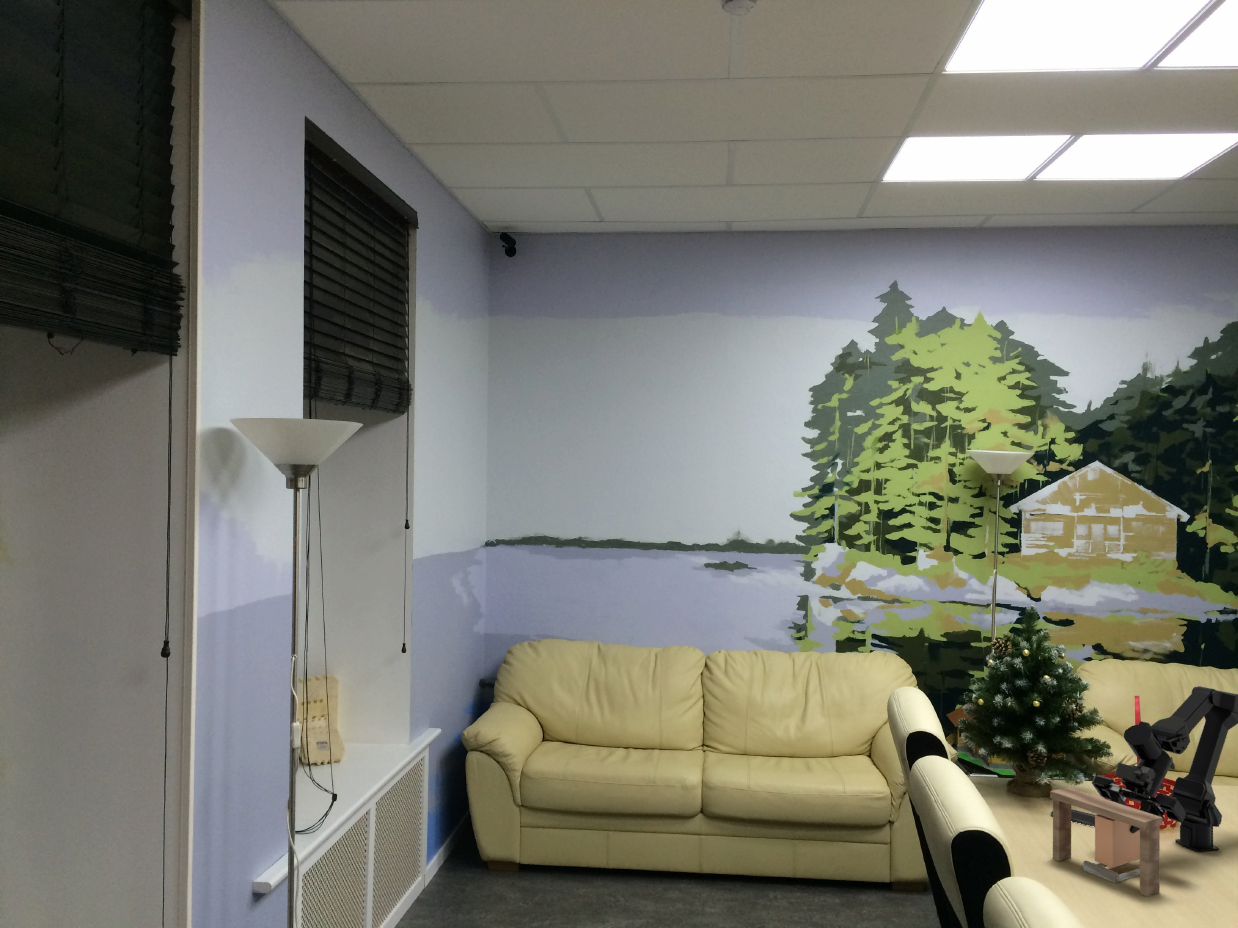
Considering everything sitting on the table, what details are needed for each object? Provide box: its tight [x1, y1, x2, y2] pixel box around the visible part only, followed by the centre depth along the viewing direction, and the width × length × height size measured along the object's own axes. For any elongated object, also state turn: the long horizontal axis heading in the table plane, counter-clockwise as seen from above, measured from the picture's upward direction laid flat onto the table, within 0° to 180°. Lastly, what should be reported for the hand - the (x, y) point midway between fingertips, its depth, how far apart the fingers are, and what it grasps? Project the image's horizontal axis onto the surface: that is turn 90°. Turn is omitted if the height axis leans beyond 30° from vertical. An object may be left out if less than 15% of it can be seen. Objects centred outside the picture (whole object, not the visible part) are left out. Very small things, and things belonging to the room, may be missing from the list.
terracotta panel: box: [1094, 814, 1140, 869], centre depth 198 cm, size 12×4×10 cm, turn 119°
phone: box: [1050, 808, 1096, 828], centre depth 229 cm, size 8×1×15 cm
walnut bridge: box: [1049, 786, 1163, 898], centre depth 197 cm, size 14×22×16 cm, turn 29°
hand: (1121, 828), depth 198 cm, fingers closed on terracotta panel, 4 cm apart
